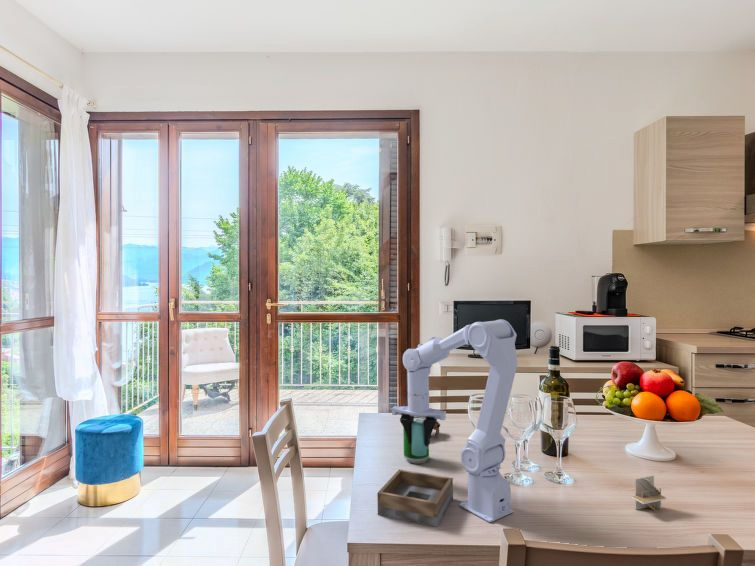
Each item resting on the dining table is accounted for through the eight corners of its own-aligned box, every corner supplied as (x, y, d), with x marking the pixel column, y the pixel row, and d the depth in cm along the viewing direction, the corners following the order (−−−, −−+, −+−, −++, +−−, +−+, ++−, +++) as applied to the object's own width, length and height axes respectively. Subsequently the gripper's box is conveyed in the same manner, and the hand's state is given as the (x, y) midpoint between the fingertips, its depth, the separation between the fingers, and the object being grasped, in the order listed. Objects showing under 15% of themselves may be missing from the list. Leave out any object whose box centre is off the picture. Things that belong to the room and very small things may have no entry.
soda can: (427, 465, 134) (427, 424, 134) (402, 463, 136) (401, 422, 135) (430, 455, 141) (429, 416, 141) (405, 454, 143) (405, 415, 143)
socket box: (452, 498, 114) (452, 478, 114) (437, 526, 101) (436, 503, 101) (399, 488, 119) (399, 469, 119) (377, 514, 106) (377, 492, 106)
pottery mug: (413, 431, 166) (425, 411, 166) (435, 447, 161) (447, 427, 161) (400, 432, 156) (412, 411, 156) (422, 449, 151) (435, 427, 151)
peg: (429, 453, 124) (429, 424, 124) (418, 457, 122) (417, 426, 122) (420, 449, 128) (419, 420, 128) (408, 452, 125) (408, 423, 125)
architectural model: (667, 513, 106) (666, 481, 106) (643, 519, 104) (643, 485, 104) (653, 506, 109) (653, 475, 109) (630, 511, 107) (630, 479, 107)
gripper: (448, 391, 125) (449, 442, 126) (398, 387, 131) (399, 435, 131) (441, 398, 119) (442, 451, 119) (388, 393, 125) (389, 444, 125)
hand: (419, 443), depth 125 cm, fingers closed on peg, 4 cm apart
